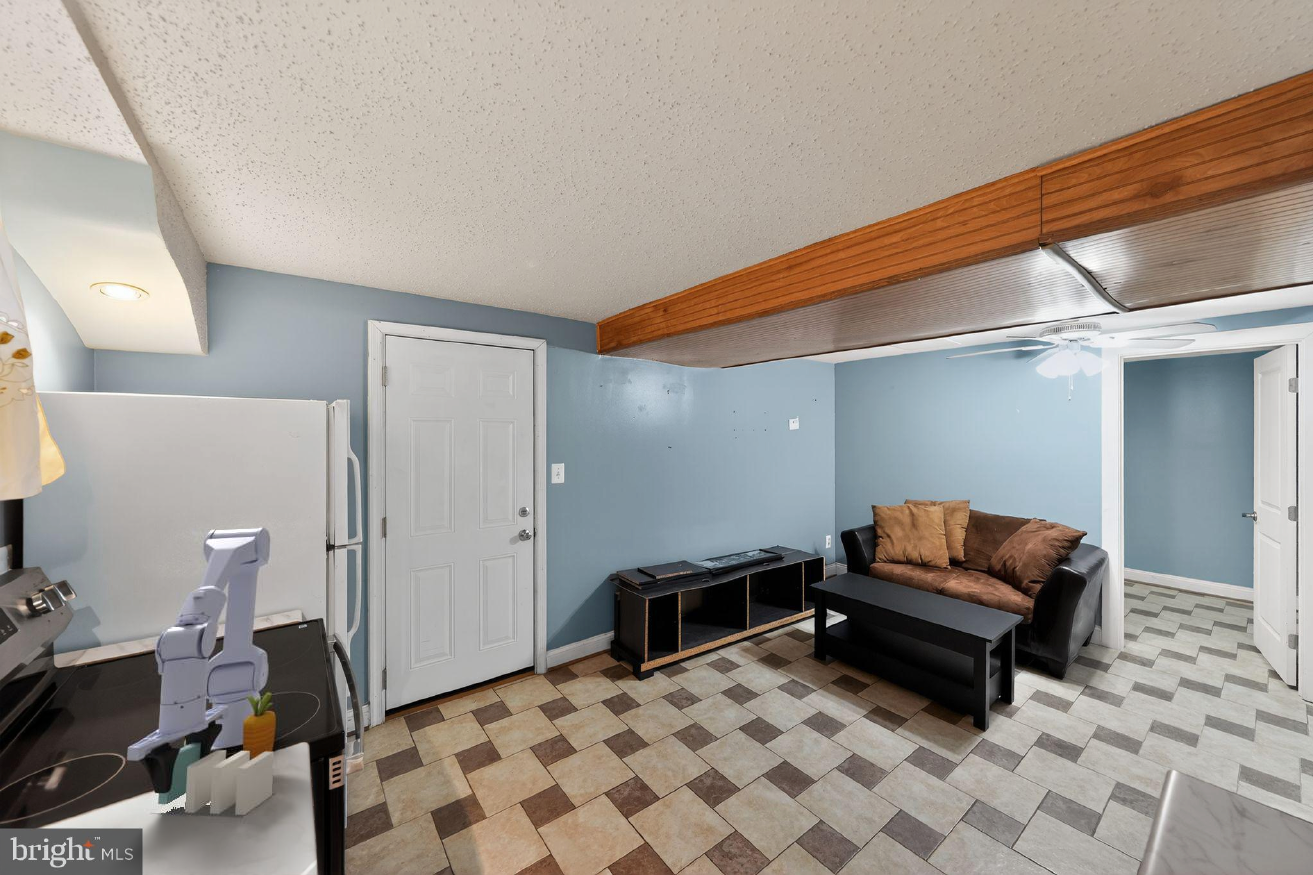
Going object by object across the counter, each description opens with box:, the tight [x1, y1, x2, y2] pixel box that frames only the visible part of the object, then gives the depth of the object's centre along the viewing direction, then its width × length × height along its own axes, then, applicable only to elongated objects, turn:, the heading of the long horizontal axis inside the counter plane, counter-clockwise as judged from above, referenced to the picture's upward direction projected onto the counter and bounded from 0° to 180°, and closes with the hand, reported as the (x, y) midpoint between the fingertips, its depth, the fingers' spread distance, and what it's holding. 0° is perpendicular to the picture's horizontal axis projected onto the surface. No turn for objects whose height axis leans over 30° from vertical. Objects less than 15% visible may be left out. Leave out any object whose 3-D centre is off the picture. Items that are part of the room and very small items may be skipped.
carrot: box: [242, 691, 277, 761], centre depth 90 cm, size 5×5×15 cm
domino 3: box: [235, 751, 275, 816], centre depth 82 cm, size 2×5×7 cm, turn 174°
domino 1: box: [185, 749, 227, 813], centre depth 83 cm, size 2×5×7 cm, turn 174°
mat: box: [165, 792, 276, 818], centre depth 82 cm, size 16×6×1 cm, turn 84°
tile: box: [157, 743, 201, 805], centre depth 83 cm, size 2×5×7 cm, turn 174°
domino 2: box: [210, 750, 250, 814], centre depth 82 cm, size 2×5×7 cm, turn 174°
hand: (179, 782), depth 83 cm, fingers closed on tile, 5 cm apart
